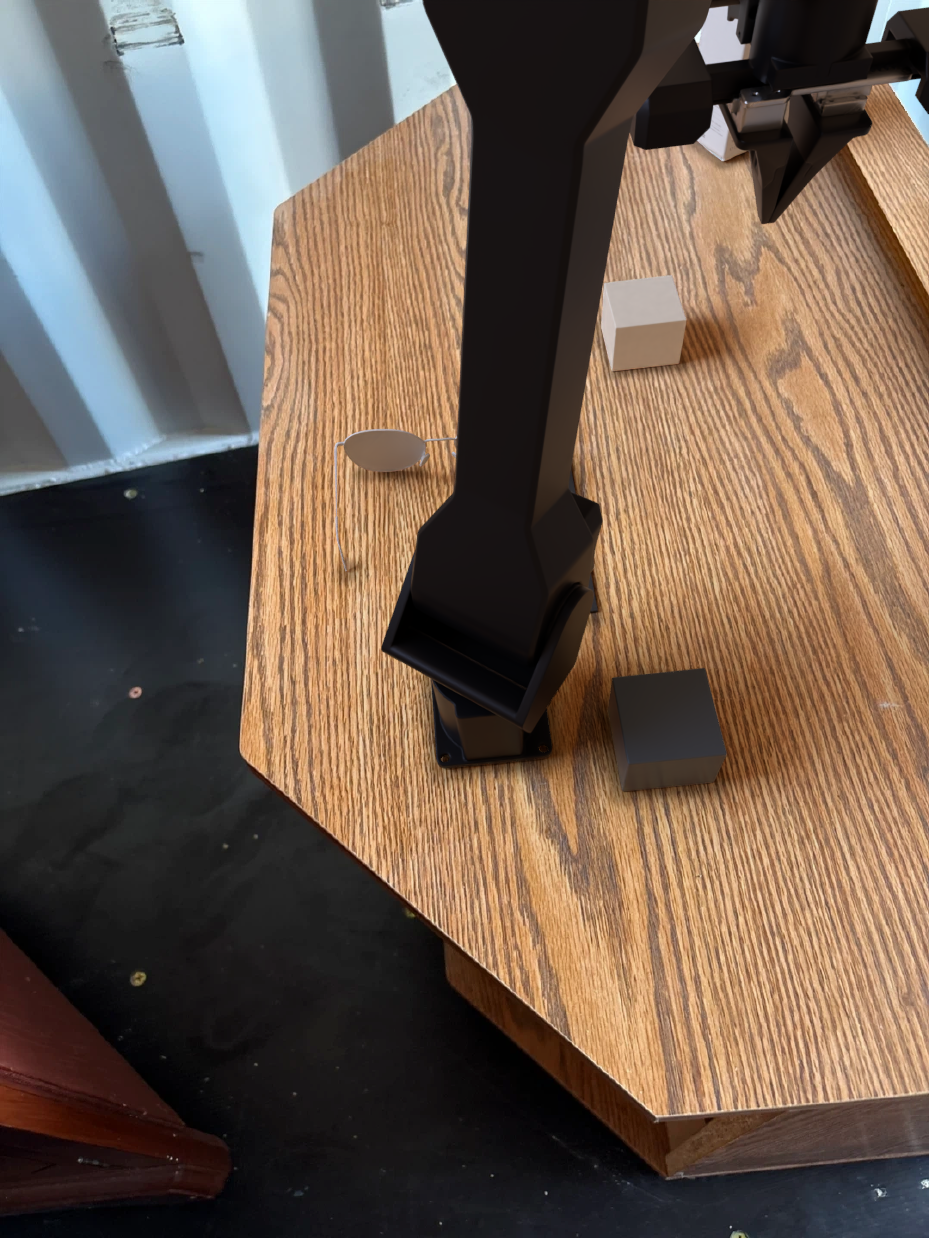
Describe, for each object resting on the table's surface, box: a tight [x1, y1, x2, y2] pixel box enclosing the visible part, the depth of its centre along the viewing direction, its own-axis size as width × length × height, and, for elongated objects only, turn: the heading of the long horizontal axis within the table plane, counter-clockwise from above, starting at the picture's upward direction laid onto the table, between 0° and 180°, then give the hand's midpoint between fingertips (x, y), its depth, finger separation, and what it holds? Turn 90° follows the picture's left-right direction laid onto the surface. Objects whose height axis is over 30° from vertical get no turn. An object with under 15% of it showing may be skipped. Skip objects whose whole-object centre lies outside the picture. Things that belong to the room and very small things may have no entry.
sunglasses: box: [333, 428, 457, 572], centre depth 55 cm, size 14×8×5 cm, turn 90°
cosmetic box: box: [696, 6, 790, 162], centre depth 71 cm, size 8×6×15 cm
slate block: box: [606, 667, 728, 792], centre depth 46 cm, size 5×5×4 cm
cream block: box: [600, 274, 688, 372], centre depth 62 cm, size 5×5×4 cm
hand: (765, 219), depth 53 cm, fingers closed
